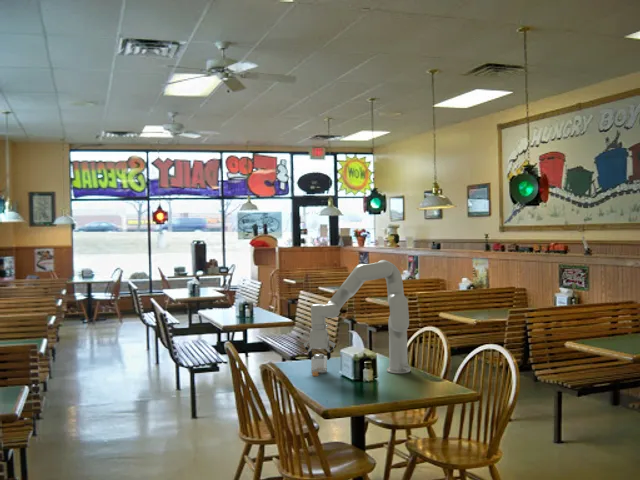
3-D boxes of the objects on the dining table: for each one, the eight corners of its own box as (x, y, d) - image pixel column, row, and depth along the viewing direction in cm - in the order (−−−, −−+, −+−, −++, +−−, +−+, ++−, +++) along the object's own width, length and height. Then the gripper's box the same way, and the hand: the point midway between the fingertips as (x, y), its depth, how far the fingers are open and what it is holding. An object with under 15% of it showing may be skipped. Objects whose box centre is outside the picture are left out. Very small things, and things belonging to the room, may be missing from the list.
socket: (324, 370, 328) (323, 356, 328) (311, 369, 330) (311, 356, 330) (326, 367, 335) (326, 353, 335) (314, 366, 337) (314, 353, 336)
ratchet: (322, 376, 323) (322, 365, 323) (307, 375, 325) (307, 365, 325) (328, 370, 336) (328, 360, 336) (313, 370, 338) (313, 359, 338)
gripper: (336, 326, 334) (337, 357, 334) (304, 325, 338) (305, 357, 338) (333, 328, 326) (334, 361, 327) (301, 328, 330) (302, 360, 331)
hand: (319, 359), depth 332 cm, fingers open, 9 cm apart
